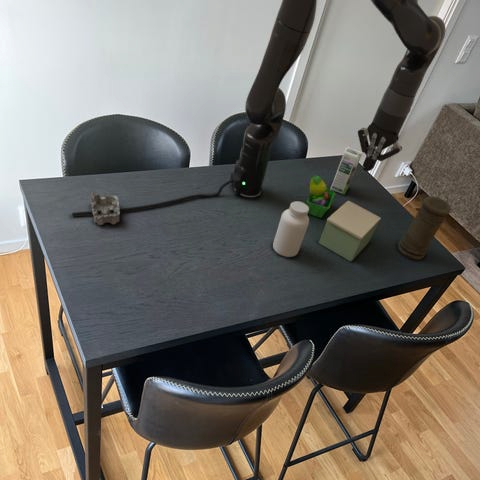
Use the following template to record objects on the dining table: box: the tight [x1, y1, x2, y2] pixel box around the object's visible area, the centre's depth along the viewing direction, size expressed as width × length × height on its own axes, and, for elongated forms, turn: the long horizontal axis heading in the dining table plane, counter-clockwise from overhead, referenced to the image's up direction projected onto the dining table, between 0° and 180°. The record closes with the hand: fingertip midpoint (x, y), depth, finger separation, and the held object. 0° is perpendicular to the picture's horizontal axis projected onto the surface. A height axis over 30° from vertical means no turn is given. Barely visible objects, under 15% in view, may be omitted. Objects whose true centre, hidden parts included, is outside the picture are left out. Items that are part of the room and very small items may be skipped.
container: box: [397, 195, 452, 261], centre depth 143 cm, size 9×9×18 cm
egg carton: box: [90, 192, 121, 226], centre depth 131 cm, size 11×8×4 cm
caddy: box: [318, 220, 380, 262], centre depth 142 cm, size 14×12×9 cm
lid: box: [326, 200, 382, 239], centre depth 138 cm, size 14×12×1 cm
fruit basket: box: [306, 175, 336, 219], centre depth 151 cm, size 11×9×11 cm
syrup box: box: [329, 146, 363, 196], centre depth 162 cm, size 6×6×14 cm
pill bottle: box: [272, 200, 310, 258], centre depth 132 cm, size 8×8×15 cm
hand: (366, 169), depth 129 cm, fingers closed
